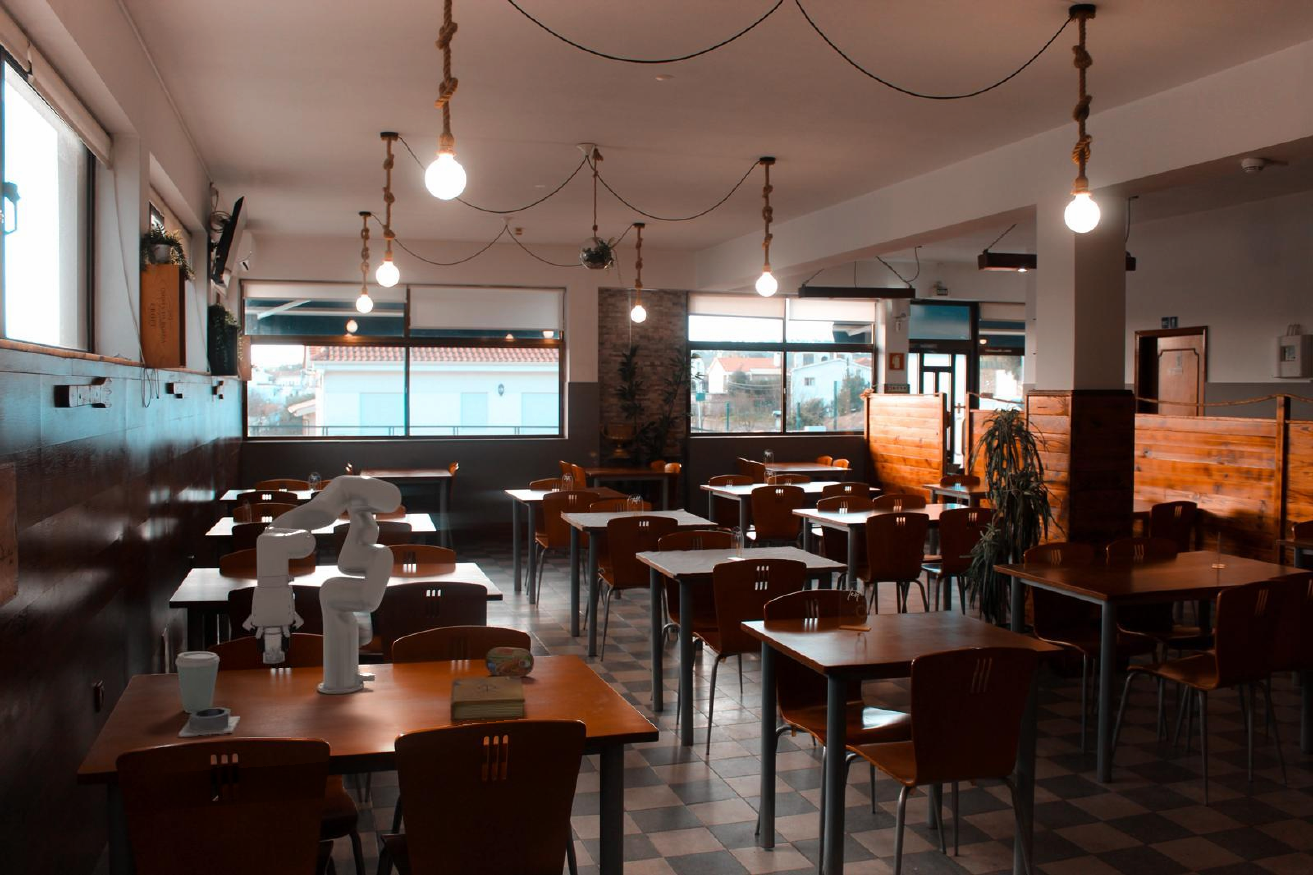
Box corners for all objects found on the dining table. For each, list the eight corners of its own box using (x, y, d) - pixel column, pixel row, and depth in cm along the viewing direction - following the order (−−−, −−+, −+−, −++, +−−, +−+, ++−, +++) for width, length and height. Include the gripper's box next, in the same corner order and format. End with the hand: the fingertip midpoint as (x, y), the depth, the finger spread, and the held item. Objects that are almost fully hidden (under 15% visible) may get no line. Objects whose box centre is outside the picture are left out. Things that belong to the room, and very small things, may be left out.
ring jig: (240, 719, 264) (240, 704, 264) (232, 733, 252) (232, 718, 252) (189, 722, 261) (189, 707, 261) (178, 737, 249) (178, 721, 249)
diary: (451, 699, 286) (451, 678, 286) (520, 696, 289) (520, 675, 289) (450, 723, 263) (450, 700, 263) (525, 719, 266) (525, 697, 266)
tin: (484, 674, 310) (484, 646, 310) (489, 672, 313) (489, 644, 313) (531, 678, 306) (531, 650, 305) (535, 676, 309) (535, 648, 308)
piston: (285, 658, 269) (285, 623, 268) (283, 663, 264) (282, 627, 263) (264, 659, 267) (264, 624, 267) (262, 664, 262) (261, 628, 262)
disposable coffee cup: (207, 701, 279) (207, 646, 279) (228, 709, 272) (227, 652, 272) (168, 710, 271) (167, 653, 271) (188, 718, 264) (187, 660, 264)
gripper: (309, 577, 270) (310, 647, 271) (239, 580, 266) (240, 650, 267) (306, 582, 263) (307, 654, 264) (234, 585, 259) (235, 657, 260)
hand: (273, 651), depth 265 cm, fingers closed on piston, 5 cm apart
